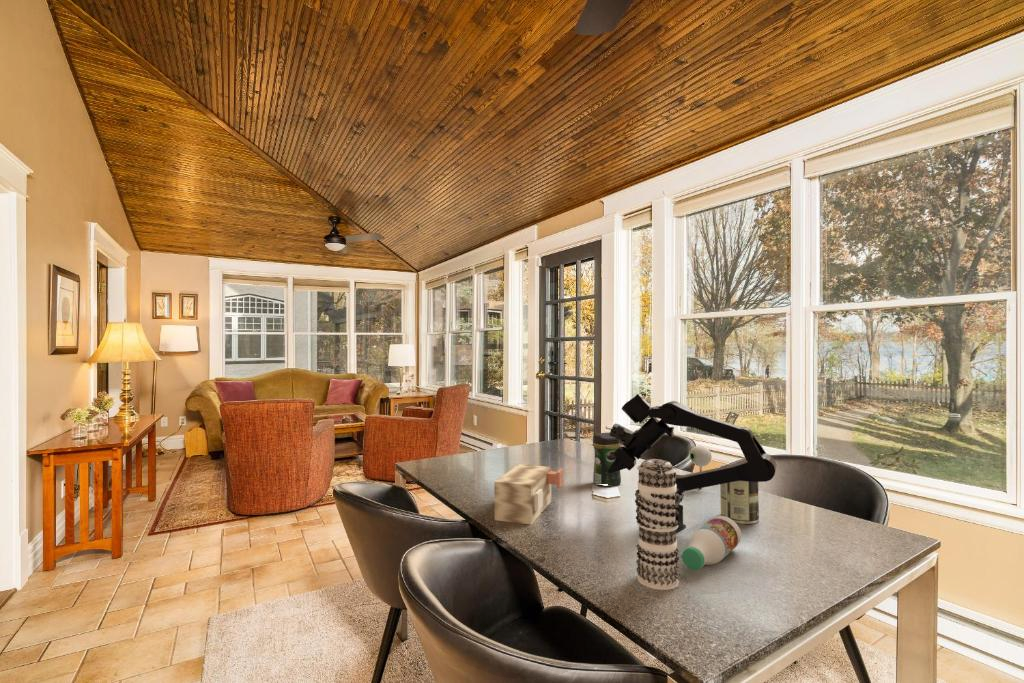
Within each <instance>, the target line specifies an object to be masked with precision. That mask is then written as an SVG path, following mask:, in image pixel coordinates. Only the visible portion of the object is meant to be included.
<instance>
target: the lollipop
mask: <svg viewBox="0 0 1024 683" xmlns="http://www.w3.org/2000/svg"><path fill="white" fill-rule="evenodd" d="M712 457H713V456H712V453H711V450H710V449H709V448H708V447H706V446H704V445H695V446H694V447H693V448H691V450H690V452H689V459H690V461H691V463H693V464H694V465H695V466H697V467H699V472H701V471H703V470H702V467H706V466H708V465H709V464H710V463H711V461H712Z"/></svg>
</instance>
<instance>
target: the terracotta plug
mask: <svg viewBox="0 0 1024 683" xmlns="http://www.w3.org/2000/svg"><path fill="white" fill-rule="evenodd" d="M547 484H551V485H555V486H556V489H561V487H562V486H563V485H564V468H559V469H558V470H557V471H554V470H551V471H548V472H547Z"/></svg>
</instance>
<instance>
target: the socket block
mask: <svg viewBox="0 0 1024 683" xmlns="http://www.w3.org/2000/svg"><path fill="white" fill-rule="evenodd" d="M548 471H552V466H544V465H533V464H523V463H521V464H520V463H519V464H517V465H515V466H514V467H513V468H511V469H510V470H509V471H507V472H506V473H504V474H503V475H502V476H500V477H499V478H497V479H496V480H494V482H493V483H494V484H493V486H494V490H493V491H494V493H493V494H494V496H493V498H494V499H493V500H494V504H493V505H494V506H493V507H494V521H498V522H499V521H500V522H506V523H515V524H523V525H531V526H532V524H533V523H534V522H535V521H536V519H538V517H539V516H541V514H542V513H543V512H544V511H545V509H546V508H547V507H548V505H549V504H550V503H551V502H552V484H547V472H548ZM539 489H543V506H542V507H541V509H540V510H539V511H535V507H533V494H534V493H535V492H537V491H538V490H539ZM541 512H542V513H541Z"/></svg>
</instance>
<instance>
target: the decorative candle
mask: <svg viewBox="0 0 1024 683" xmlns="http://www.w3.org/2000/svg"><path fill="white" fill-rule="evenodd" d="M636 468H637V470H638V480H637V489H636V490H635V493H634V495H635V500H634V503H635V506H636V509H635V512H636V516H635V519H636V524H637V525H638V533H639V534H638V536H637V540H638V542H637V544H636V545H635V546H636V548H637V549H636V550H637V552H636V555H637V560H636V565H637V567H636V572H637V575H636V577H637V581H638V582H639V583H640V584H641V585H642V586H644V587H647V588H648V589H653V590H656V591H657V590H659V591H668V590H673V589H675V588H677V587H678V586H679V583H680V580H679V576H680V573H679V569H680V566H679V565H678V564H679V563H678V562H679V560H680V558H679V556H678V555H679V552H680V551H679V549H678V540H677V533H676V529H677V528H678V524H679V522H678V521H677V520H676V519H675V517H676V516H678V515H679V514H680V513H679V512H678V511H677V510H676V509H677V508H679V504H678V503H676V502H675V499H676V500H677V499H679V498H680V495H679V494H678V493H676V491H677V492H678V490H679V489H678V488H677V485H676V475H677V471H678V470H677V469H676V468H675V467H674V466H673V465H672V464H671V462H670V461H667V460H664V459H658V458H657V459H656V458H648V459H645V460H643V461H642V462H641V464H640V465H637V467H636ZM675 472H676V473H675ZM675 474H676V475H675Z"/></svg>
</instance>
